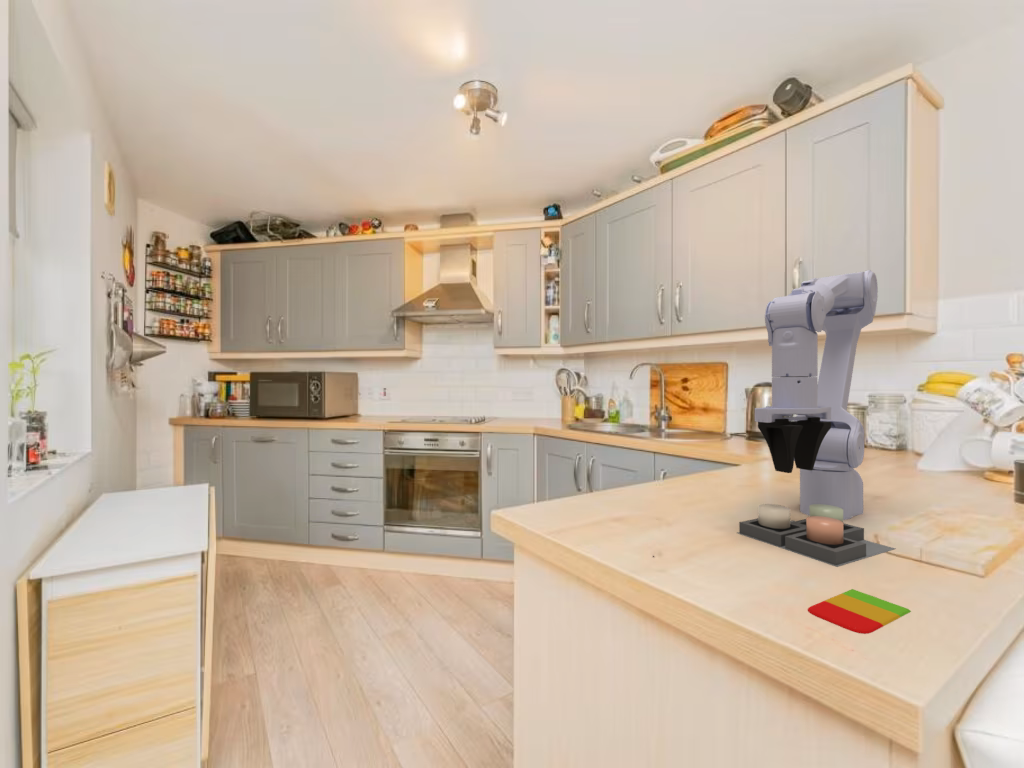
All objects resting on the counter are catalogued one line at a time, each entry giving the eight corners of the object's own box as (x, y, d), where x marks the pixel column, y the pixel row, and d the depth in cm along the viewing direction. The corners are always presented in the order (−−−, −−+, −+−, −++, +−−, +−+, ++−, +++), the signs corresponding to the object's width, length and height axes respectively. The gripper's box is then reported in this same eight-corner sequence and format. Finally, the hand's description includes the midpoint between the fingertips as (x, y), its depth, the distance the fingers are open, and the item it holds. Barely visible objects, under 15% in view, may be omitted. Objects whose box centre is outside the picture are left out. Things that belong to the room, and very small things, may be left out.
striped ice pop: (800, 626, 46) (800, 607, 46) (877, 592, 53) (877, 576, 53) (864, 656, 41) (865, 634, 41) (939, 614, 48) (940, 596, 48)
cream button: (770, 518, 70) (770, 502, 70) (796, 526, 66) (796, 509, 66) (752, 522, 68) (752, 506, 68) (778, 530, 64) (778, 513, 64)
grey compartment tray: (792, 527, 74) (792, 510, 74) (895, 557, 62) (895, 536, 62) (736, 540, 69) (736, 521, 69) (837, 576, 56) (837, 553, 56)
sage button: (820, 519, 69) (820, 502, 69) (849, 526, 66) (849, 509, 66) (803, 522, 68) (803, 506, 68) (832, 530, 64) (832, 513, 64)
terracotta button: (818, 532, 63) (818, 514, 63) (850, 541, 60) (850, 522, 60) (799, 536, 62) (799, 518, 62) (831, 546, 58) (831, 527, 58)
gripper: (798, 377, 75) (798, 462, 75) (735, 377, 68) (735, 469, 68) (846, 377, 68) (846, 470, 68) (781, 376, 62) (781, 478, 62)
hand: (794, 470), depth 68 cm, fingers open, 4 cm apart
